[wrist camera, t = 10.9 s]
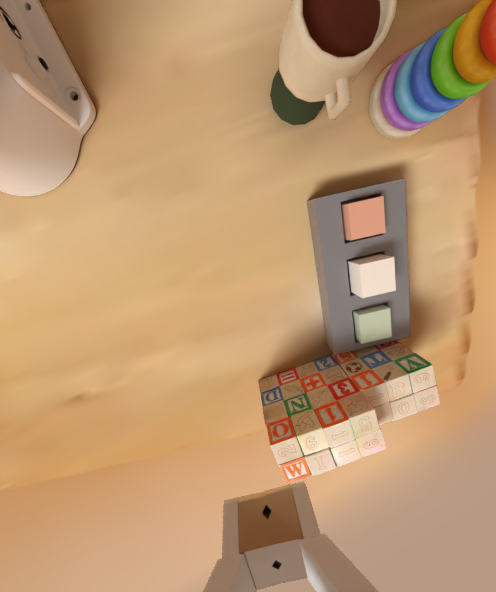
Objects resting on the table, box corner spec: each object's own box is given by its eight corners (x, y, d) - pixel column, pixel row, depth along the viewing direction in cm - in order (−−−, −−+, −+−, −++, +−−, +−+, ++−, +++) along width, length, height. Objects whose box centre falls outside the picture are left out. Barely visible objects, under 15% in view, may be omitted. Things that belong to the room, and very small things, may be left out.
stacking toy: (375, 152, 31) (571, 55, 13) (357, 81, 29) (565, -149, 11) (434, 125, 31) (717, -11, 13) (421, 52, 29) (740, -234, 11)
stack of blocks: (386, 332, 39) (456, 379, 27) (394, 365, 40) (463, 423, 29) (256, 380, 39) (269, 447, 27) (269, 411, 41) (286, 486, 29)
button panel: (306, 201, 32) (314, 198, 29) (389, 182, 33) (405, 178, 30) (327, 344, 38) (335, 354, 35) (396, 328, 38) (410, 336, 36)
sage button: (348, 308, 36) (359, 315, 33) (377, 301, 36) (390, 308, 33) (351, 334, 37) (361, 343, 34) (379, 327, 37) (391, 336, 34)
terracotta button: (337, 205, 32) (348, 203, 29) (369, 198, 32) (383, 195, 29) (340, 239, 33) (351, 240, 30) (371, 232, 33) (385, 232, 30)
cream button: (348, 261, 32) (359, 264, 29) (379, 254, 32) (394, 256, 30) (351, 292, 34) (362, 298, 31) (381, 284, 34) (395, 290, 31)
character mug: (334, 139, 31) (407, 79, 18) (278, 156, 31) (313, 108, 18) (316, 31, 28) (389, -130, 15) (254, 49, 28) (276, -95, 15)
